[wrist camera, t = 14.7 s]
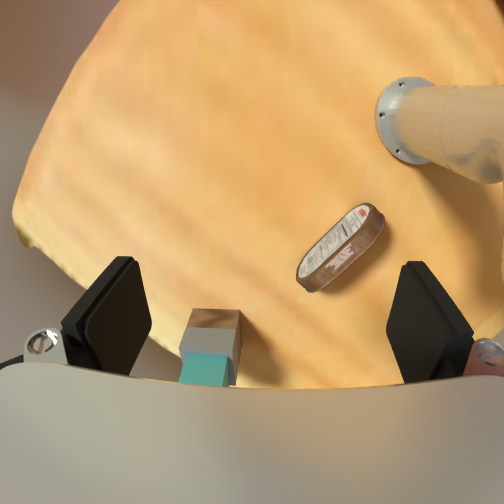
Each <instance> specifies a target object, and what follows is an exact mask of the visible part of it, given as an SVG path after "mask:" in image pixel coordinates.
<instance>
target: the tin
mask: <svg viewBox="0 0 504 504" xmlns="http://www.w3.org/2000/svg"><path fill="white" fill-rule="evenodd" d="M384 224H385V217H384V215H383V214H382V213H380V212H379V211H378V210H377V209H376V208H375V207H374V206H373V205H372V204H370V203H362V204H360V205H358V206H356V207H355V208H353V209H352V210H350V211H349V212H348V213H347V214H346V215H345V216H344V217H343V218H342V219H341V220H340V221H339V222H338V223H337V224H335V225H334V226H333V227H332V228H331V229H330V230H329V231H328V232H327V233H326V234H325V235H324V236H323V237H322V238H321V239H320V240H319V241H318V242H317V243H316V244H315V245H314V246H313V247H312V248H311V249H310V250H309V251H308V252H307V253H306V255H305V256H304V257H303V259H302V260H301V262H300V264H299V266H298V268H297V273H296V280H297V282H298V283H299V284H300V285H301V286H303V287H304V288H305V289H306V291H307V292H309V293H314V292H317V291H319V290H321V289H323V288H324V287H326V286H327V285H328V284H329V283H331V282H332V281H333V280H334V279H335V278H336V277H337V276H338V275H340V274H341V273H342V272H343V271H344V270H345V269H346V268H347V267H348V266H350V265H351V264H352V263H353V262H354V261H355V260H356V259H357V258H358V257H360V256H361V255H362V254H363V253H364V252H365V251H366V250H367V249H368V248H369V247H370V246H371V245H372V244H373V243H374V242H375V241H376V239H377V238H378V237H379V235H380V233H381V231H382V230H383V227H384Z"/></svg>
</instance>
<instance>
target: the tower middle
mask: <svg viewBox="0 0 504 504" xmlns="http://www.w3.org/2000/svg"><path fill="white" fill-rule="evenodd" d="M179 351H180V355H181V359H182V363H183V365H184V362H185V359H186V356H187V353H197V354H208V355H220V356H228V374H229V385H234V386H236V379H237V372H238V365H239V362H238V350H237V337H236V329H220V328H199V327H186V329H185V332H184V334H183V337H182V340H181V343H180V346H179Z"/></svg>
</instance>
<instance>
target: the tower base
mask: <svg viewBox="0 0 504 504" xmlns="http://www.w3.org/2000/svg"><path fill="white" fill-rule="evenodd" d="M187 327H199V328H220V329H236V337H237V350H238V362H239V360H240V353H241V346H242V342H241V327H240V312H239V310H223V309H195V308H193V310H192V313H191V316H190V318H189V321H188V324H187Z"/></svg>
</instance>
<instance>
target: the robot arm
mask: <svg viewBox="0 0 504 504" xmlns="http://www.w3.org/2000/svg"><path fill="white" fill-rule="evenodd" d="M399 83H400V84H401V86H399ZM380 113H381V114H382V116H381V117H380ZM375 122H376V128H377V132H378V134H379V137H380V139H381V141H382V142H383V144H384V145H385V147H386V148H387V149H388V150H389V151H390V152H391V153H392V154H393V155H394V156H396V157H397V158H399V159H401V160H403V161H405V162H408V163H410V164H417V165H419V164H427V163H430V162H434V163H436V164H438V165H440V166H443V167H445V168H447V169H449V170H451V171H453V172H455V173H457V174H459V175H461V176H463V177H466V178H468V179H470V180H472V181H475V182H477V183H481V184H495V183H499V182H502V181H503V190H504V85H492V86H435V85H434V84H433V83H431V82H429V81H428V80H425V79H422V78H419V77H405V78H400V79H397V80H395V81H393V82H392V83H390V84H389V85H388V86H387V87H386V88H385V89H384V90H383V91H382V93H381V95H380V97H379V99H378V101H377V105H376V109H375ZM397 149H398V152H396V150H397ZM501 269H502V280H503V284H504V234H503V250H502V266H501ZM61 324H62V327H63V329H62V330H61V331H58V330H57V329H54V328H43V329H40V330H38V331H35V332H34V333H33V334H31V335H30V336H29V337H28V338H27V339H26V341H25V343H24V347H23V353H24V354H23V355H20V356H18V357H15V358H13V359H11V360H8V361H5V362H3V363H0V504H504V346H502V345H501V344H500V343H499V342H497V341H495V340H492V339H489V338H481V339H478V340H476V341H474V339H473V338H472V336H473V334H474V331H473V330H472V328H471V327H470V325H469V324H468V322H467V321H466V319H465V318H464V316H463V315H462V313H461V312H460V310H459V309H458V307H457V306H456V305H455V303H454V302H453V300H452V299H451V298H450V296H449V295H448V293H447V292H446V291H445V289H444V288H443V287H442V285H441V284H440V282H439V281H438V280H437V278H436V277H435V276H434V275H433V273H432V272H431V271H430V269H429V268H428V267H427V265H426V264H425V263H424V262H423V261H408V262H407V263H406V265H403V266H402V268H401V272H400V276H399V280H398V284H397V288H396V292H395V296H394V300H393V304H392V308H391V311H390V315H389V319H388V322H387V326H386V333H387V336H388V339H389V342H390V344H391V347H392V350H393V352H394V355H395V358H396V361H397V363H398V366H399V369H400V372H401V375H402V377H403V380H404V384H394V385H383V386H371V387H355V388H334V389H259V388H237V387H222V386H209V385H197V384H187V383H178V382H169V381H161V380H154V379H147V378H140V377H134V376H129V373H130V372H131V369H132V367H133V365H134V363H135V361H136V359H137V357H138V355H139V352H140V350H141V348H142V346H143V344H144V342H145V340H146V338H147V336H148V334H149V332H150V330H151V326H152V320H151V316H150V312H149V308H148V303H147V299H146V295H145V291H144V286H143V282H142V277H141V272H140V267H139V263H138V261H135V260H134V258H133V257H130V256H117V257H116V258H115V259H114V260H113V261H112V262H111V263H110V265H109V266H108V267H107V268H106V269H105V270H104V271H103V272H102V274H101V275H100V276H99V277H98V278H97V279H96V280H95V282H94V283H93V284H92V285H91V286H90V287H89V289H88V290H87V291H86V292H85V293H84V294H83V296H82V297H81V298H80V299H79V301H78V302H77V303H76V304H75V305H74V306H73V308H72V309H71V310H70V312H69V313H68V314H67V315H66V316H65V318H64V319H63V320H62V321H61Z"/></svg>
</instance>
